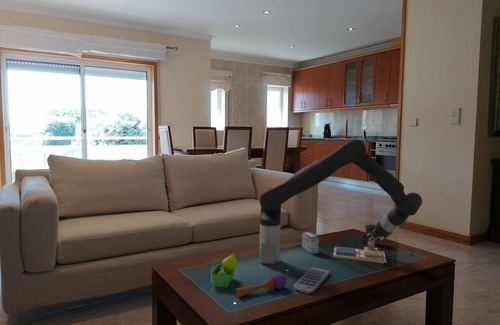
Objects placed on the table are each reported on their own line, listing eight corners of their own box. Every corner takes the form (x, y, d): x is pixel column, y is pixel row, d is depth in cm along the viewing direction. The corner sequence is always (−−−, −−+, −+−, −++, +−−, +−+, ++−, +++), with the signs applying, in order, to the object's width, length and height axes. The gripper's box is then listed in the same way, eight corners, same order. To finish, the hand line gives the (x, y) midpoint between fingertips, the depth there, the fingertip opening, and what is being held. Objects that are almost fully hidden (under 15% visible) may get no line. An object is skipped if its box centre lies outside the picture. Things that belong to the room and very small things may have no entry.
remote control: (329, 275, 148) (329, 270, 147) (311, 296, 128) (311, 290, 128) (311, 271, 151) (311, 266, 151) (291, 291, 132) (291, 285, 132)
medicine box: (301, 249, 178) (302, 232, 177) (309, 248, 180) (309, 231, 179) (310, 254, 171) (311, 237, 170) (318, 253, 173) (318, 235, 172)
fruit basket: (218, 275, 144) (218, 248, 143) (239, 277, 143) (239, 250, 142) (210, 287, 133) (210, 258, 132) (233, 289, 132) (233, 260, 131)
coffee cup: (364, 245, 186) (365, 226, 185) (363, 240, 194) (364, 222, 193) (380, 246, 184) (381, 227, 183) (379, 242, 192) (379, 223, 191)
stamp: (377, 257, 164) (378, 239, 164) (364, 256, 166) (365, 238, 165) (377, 253, 170) (377, 236, 169) (364, 252, 172) (364, 235, 171)
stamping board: (386, 263, 160) (386, 261, 160) (332, 258, 166) (333, 255, 166) (384, 253, 173) (384, 251, 173) (334, 248, 180) (334, 246, 180)
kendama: (232, 283, 128) (279, 269, 137) (235, 299, 128) (282, 285, 137) (239, 286, 123) (288, 272, 132) (242, 303, 123) (290, 288, 132)
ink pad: (355, 256, 166) (355, 254, 166) (335, 254, 168) (335, 251, 168) (355, 250, 174) (355, 248, 174) (336, 248, 177) (336, 246, 177)
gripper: (396, 216, 162) (376, 234, 174) (371, 218, 157) (352, 237, 169) (404, 230, 158) (383, 248, 170) (379, 233, 152) (360, 252, 164)
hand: (368, 242), depth 169 cm, fingers open, 6 cm apart
